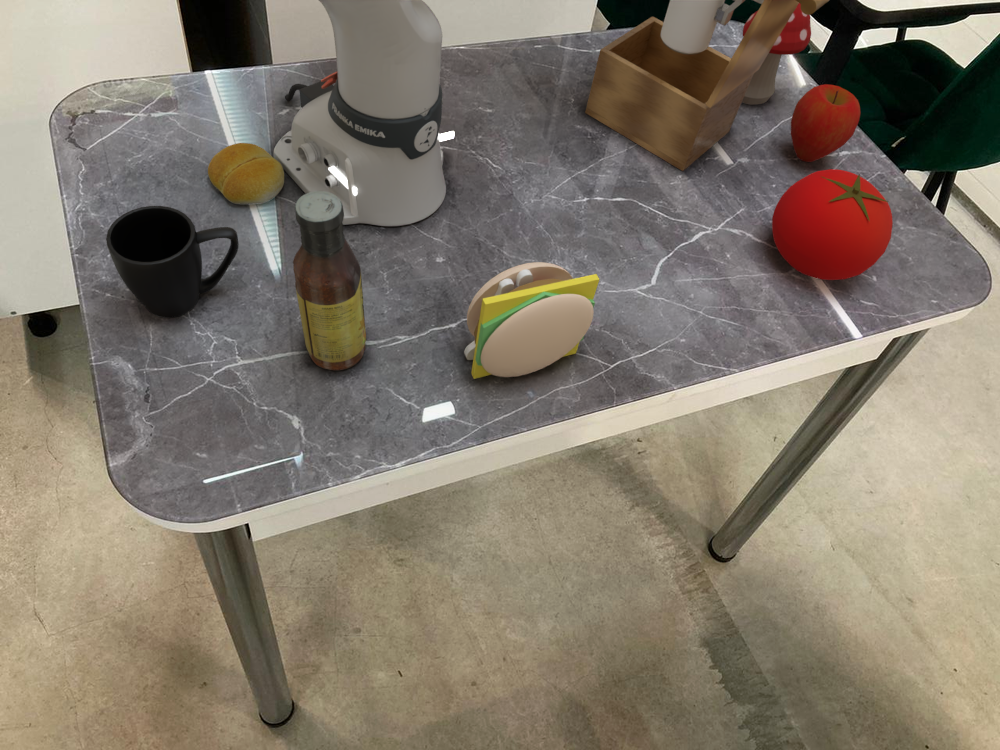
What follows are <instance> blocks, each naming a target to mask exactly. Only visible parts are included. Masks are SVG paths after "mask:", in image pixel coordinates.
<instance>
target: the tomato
mask: <svg viewBox="0 0 1000 750" xmlns="http://www.w3.org/2000/svg"><path fill="white" fill-rule="evenodd" d="M772 213H773V214H772V217H771V228H772V237H773V242H774V244H775V247H776V248H777V251H778V252H779V254H780V255H781V257H782V259H784V260H785V261H786V262H787V263H788V265H789V266H790V267H791V268H793V269H794V270H795V271H797V272H799V273H801V274H802V275H805V276H806V277H807V276H808V277H810V278H813V279H817V280H822V281H823V280H824V281H836V280H838V281H840V280H846V279H850V278H854V277H857V276H859V275H862V274H863V273H864V272H866V271H867V270H869V269H870V268H871V267H872V266H874V265H875V264H876V263H877V262H878V261H879V259H880V258H881V257H882V256H883V255H884V254H885V253H886V250H887V248H888V246H889V243H890V242H891V239H892V233H893V224H894V223H893V213H892V209H891V207H890V204H889V201H888V200H886V198H885V196H884V195H883V194H882V193H881V192H880V191H879V190H878V189H877V188H876V186H874V185H873V183H871V182H870V181H869V180H867V179H865V178H864V177H862V176H861V175H860V174H856V173H853V172H851V171H847V170H843V169H837V168H834V169H833V168H829V169H823V170H817V171H814V172H811V173H810V174H808V175H806V176H804V177H802V178H801V179H799V180H797V181H795V183H793V184H792V185H790V186H789V187H788V188H787V189H786V191H785V192H784V193H783V194H782V195H781V196H780V198H779V200H778V201H777V203H776V205H775V207H774V210H773V212H772Z"/></svg>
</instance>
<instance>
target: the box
mask: <svg viewBox="0 0 1000 750" xmlns="http://www.w3.org/2000/svg"><path fill="white" fill-rule="evenodd" d="M663 23H664V21H663V20H660V19H658V18H657V17H655V16H650V17H648V19H646V20H644V21H643V22H641V23H640V24H638V25H637V26H635V27H633V28H632V29H630V30H629V31H626V32H625V33H624V34H621V36H619V37H617V38H616V39H615V40H613V41H612V42H610V43H608V44H607V45H605V46H603V47H602V48H600V50H599V54H598V57H597V62H596V65H595V70H594V74H593V78H592V83H591V87H590V91H589V95H588V98H587V103H586V107H585V111H584V113H585V114H586V115H588V116H589V117H591V118H593V119H595V120H596V121H598V122H600V123H601V124H603V125H605V126H607V127H608V128H610V129H611V130H613V131H615V132H616V133H617V134H620V135H621V136H623V137H625V138H626V139H628V140H630V141H631V142H633V143H635V144H637V145H638V146H640V147H641V148H643V149H645V150H646V151H648V152H650V153H651V154H653V155H655V156H657V157H658V158H660V159H661V160H663V161H665V162H667V163H668V164H670V165H672V166H673V167H675V168H676V169H678V170H680V171H682V172H684V171H685V170H687V169H688V168H689V167H690V166H691V165H692V164H694V163H695V162H696V161H697V160H699V158H700V157H702V155H704V154H705V153H706V152H708V151H709V150H710V149H711V148H713V146H714V145H716V144H717V143H718V142H719V141H720V140H722V139H723V138H724V137H725V136H726V135H728V133H730V131H731V129H732V126H733V124H734V122H735V119H736V117H737V114H738V112H739V110H740V108H741V105H742V104H743V103H742V100H743V98H744V96H745V93H746V91H747V89H748V86H749V84H750V81H751V79H752V77H753V74H752V75H751V76H750V77H749V78H747V79H746V80H745V81H744V82H742V83H741V84H740V85H739V86H737V87H736V88H735V89H734V90H732V91H731V92H730V93H729V94H727V95H726V96H725V97H724V98H722V99H721V100H720V101H719V102H717V103H716V104H715V105H714V106H713V107H711V108H709V107H708V106H707V105H706V103H707V101H708V99H709V97H710V96H711V94H712V92H713V90H714V89H715V87H716V85H717V83H718V81H719V80H720V78H721V76H722V74H723V73H724V71H725V69H726V67H727V65H728V64H729V62H730V60H731V58H732V57H730V56H728V55H726V54H724V53H722V52H721V51H719V50H717V49H715V48H713V47H711V46H708V48H707V49H706V50H704V51H703V52H701V53H699V54H694V55H686V54H681V53H678V52H675V51H673V50H671V49H670V48H668V47H667V46H666V45H665V44H664V43H663V41H662V39H661V30H662V26H663Z"/></svg>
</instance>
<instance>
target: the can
mask: <svg viewBox="0 0 1000 750" xmlns="http://www.w3.org/2000/svg"><path fill="white" fill-rule="evenodd" d="M725 2H726V0H669V2H668V5H667V9H666V13H665V15H664V16H665V17H664V19H663V22H664V23H663V26H662V30H661V39H662V41H663V43H664V44H665V45H666V46H667V47H668V48H670V49H671V50H673V51H675V52H678V53H681V54H686V55H694V54H699V53H701V52H703V51H704V50H706V49H707V48H708V46H709V45H710V43H711V40H712V38H713V36H714V33H715V30H716V27H717V24H718V22H716V21H714V19H715V17H716V16H717V14H716V13H717V10H718V8H719V7H721V6H722V5H723V4H724V3H725ZM709 47H710V46H709Z"/></svg>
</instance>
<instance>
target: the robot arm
mask: <svg viewBox="0 0 1000 750" xmlns="http://www.w3.org/2000/svg"><path fill="white" fill-rule="evenodd" d="M318 1H319V2H320V3H321V4H322V6H323V8H324V9H325V11H326V13H327V15H328V18H329V20H330V24H331V27H332V31H333V39H334V46H335V59H336V71H335V72H332V73H331V74H329V75H327V76H325V77H323V78H322V79H321V80H320V81H317V82H315V83H312V84H310V85H306V84H303V83H294V84H293V85H291V87H290V88H289V90H288V93H287V94H285V95H284V100H286V101H287V102H290V101H292V100H293V98H294V97H295V94H296V92H297V91H298V92H299V93H298V94H299V101H300V102H299V103H300V109H299V111H297V113H296V114H295V116H294V117H293V120H292V123H291V129H290V130H289V131H287V133H285V134H284V135H283V136H282V137H281V138H280V139H279V140H278V142H277V143H276V144H275V147H274V149H273V158H274V159H276V160H277V161H278V162H280V164H281V165H282V167H283V170H284V172H286V174H287V175H288V176H289V177H290V178H291V179H292V181H294V183H295V184H296V185H297V186H298V187H299V189H301V191H302V192H304V194H307V193H309V192H317V191H323V192H329V193H332V194H334V195H336V196H337V197H338V198H339V199H340V201H341V203H342V205H343V211H344V218H343V222H342V223H343V226H345V225H346V226H347V225H357V224H366V225H373V226H379V227H380V226H381V227H400V226H406V225H410V224H414V223H418V222H420V221H422V220H425V219H427V218H428V217H429V216H432V214H434V213H435V212H436V211H437V210H438V209H439V208H440V207H441V206H442V204H443V202H444V201H445V197H446V193H447V185H446V180H445V175H444V170H443V164H444V151H443V149H442V148H441V142H445V141H448V140H452V139H454V138H455V131H454V130H451V131H448V132H443V133H440V128H441V122H442V117H443V116H442V115H443V114H442V113H443V112H442V111H443V101H444V98H443V89H442V86H441V84H440V83H441V82H440V80H441V67H442V66H441V65H442V50H443V49H442V48H443V29H442V25H441V23H440V21H439V19H438V17H437V16H436V14H435V13H434V12H433V10H432V9H431V7H430V6H429V5H428V4H427V3H426V2H425V1H424V0H318ZM745 1H746V0H733V2H732V3H731V4H730V5H729V4H727V3H725V2H724V4H723V5H722V6H721V7H719V8H718V10H717V13H716V14H717V16H716V17H715V19H714V21H716V22H717V24H720V25H722V26H724V27H725V26H726V25H728V24H729V22H730V21H731V19H732V16H733V14H734V11H735V10H736V9H737V8H738V7H739V6H740V5H742V4H743V3H744V2H745ZM752 1H754V2H756V3H757V4H760V5H762V3H763V1H764V0H752Z"/></svg>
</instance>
